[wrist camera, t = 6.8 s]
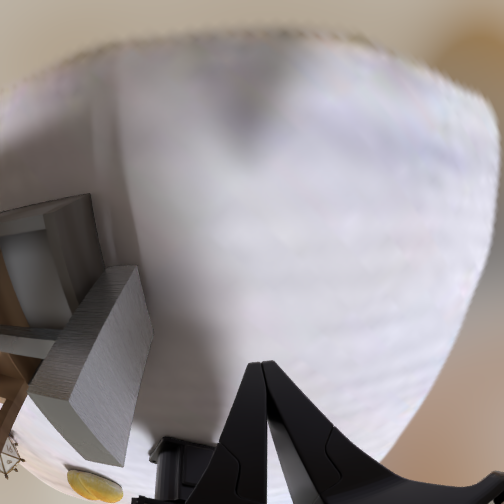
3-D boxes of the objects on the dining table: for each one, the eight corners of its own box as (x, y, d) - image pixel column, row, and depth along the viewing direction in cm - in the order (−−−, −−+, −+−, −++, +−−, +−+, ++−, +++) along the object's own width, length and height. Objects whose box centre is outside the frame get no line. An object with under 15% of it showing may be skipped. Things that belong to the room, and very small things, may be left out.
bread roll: (132, 491, 28) (130, 511, 24) (89, 484, 27) (86, 502, 24) (104, 472, 24) (100, 495, 21) (60, 463, 24) (55, 483, 20)
